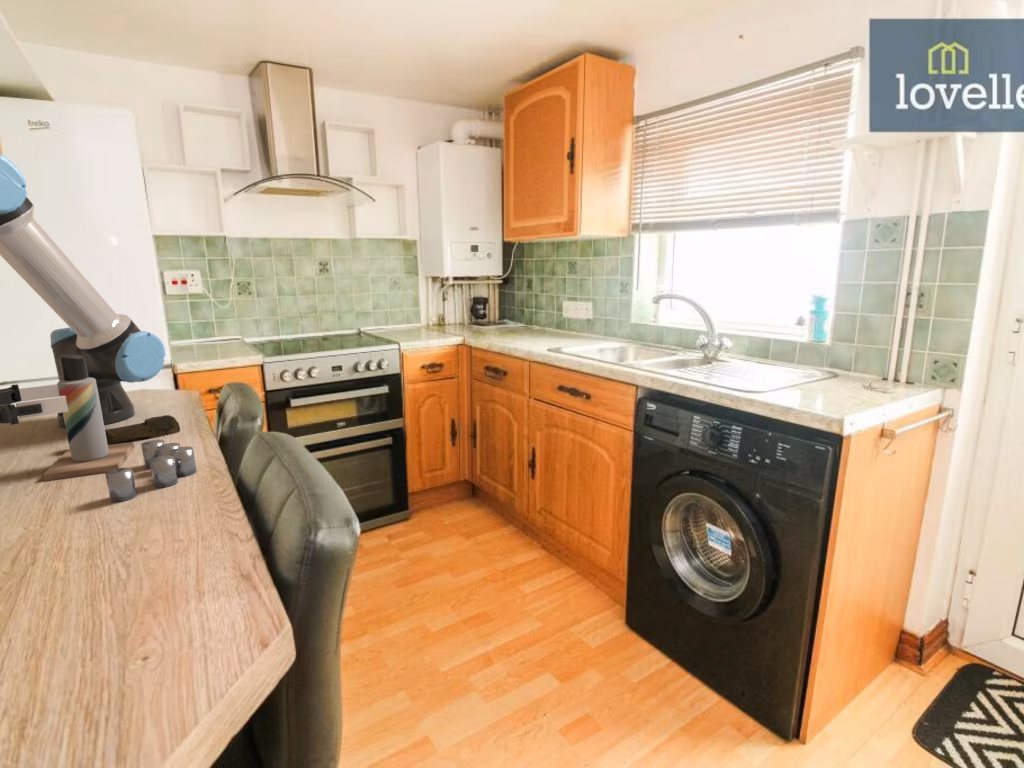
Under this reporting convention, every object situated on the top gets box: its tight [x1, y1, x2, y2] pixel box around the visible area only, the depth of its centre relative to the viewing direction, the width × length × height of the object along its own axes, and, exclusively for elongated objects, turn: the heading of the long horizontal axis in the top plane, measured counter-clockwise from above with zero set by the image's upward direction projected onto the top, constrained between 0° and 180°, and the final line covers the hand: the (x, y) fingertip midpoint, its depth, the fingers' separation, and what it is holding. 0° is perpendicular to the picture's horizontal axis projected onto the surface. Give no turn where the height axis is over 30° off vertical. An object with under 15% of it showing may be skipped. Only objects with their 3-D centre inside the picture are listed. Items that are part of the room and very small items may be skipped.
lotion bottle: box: [56, 354, 109, 462], centre depth 102 cm, size 6×6×20 cm
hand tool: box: [105, 414, 181, 445], centre depth 116 cm, size 19×4×5 cm, turn 127°
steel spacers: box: [104, 439, 197, 503], centre depth 97 cm, size 18×12×4 cm, turn 24°
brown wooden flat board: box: [42, 441, 135, 482], centre depth 104 cm, size 14×11×1 cm
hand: (66, 396), depth 100 cm, fingers open, 13 cm apart
